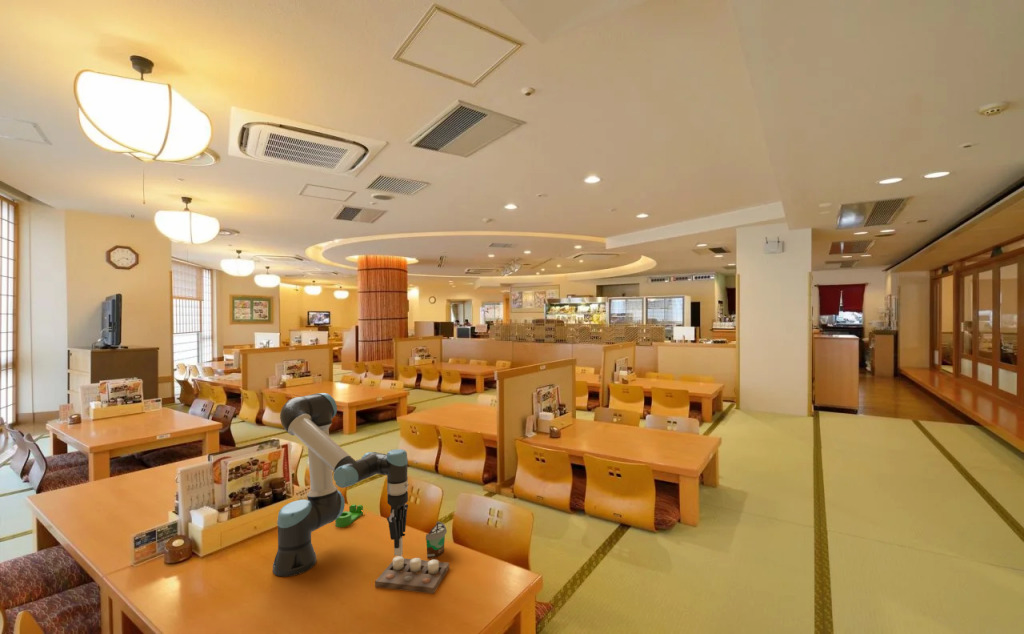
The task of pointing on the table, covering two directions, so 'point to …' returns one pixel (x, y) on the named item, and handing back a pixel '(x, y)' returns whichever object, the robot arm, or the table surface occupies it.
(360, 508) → the green ring bracket
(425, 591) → the board
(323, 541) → the table surface
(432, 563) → the button right
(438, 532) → the food container
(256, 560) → the table surface
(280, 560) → the robot arm
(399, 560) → the button left
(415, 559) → the button mid
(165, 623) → the table surface
